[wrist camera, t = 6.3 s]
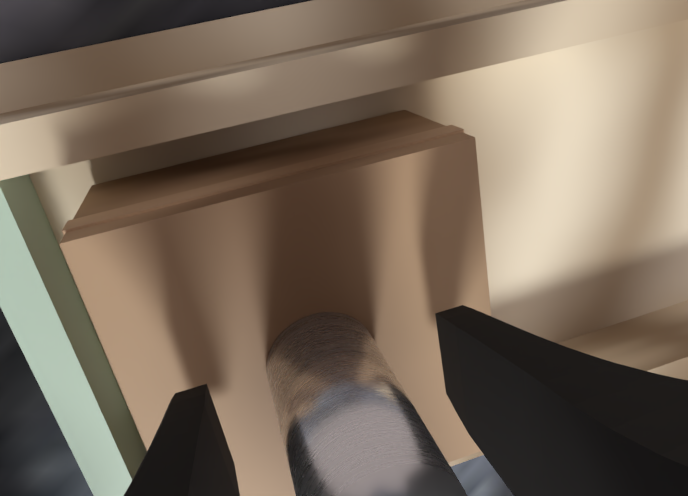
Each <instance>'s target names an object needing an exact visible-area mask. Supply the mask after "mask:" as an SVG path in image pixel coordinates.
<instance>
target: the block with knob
mask: <svg viewBox="0 0 688 496" xmlns="http://www.w3.org/2000/svg"><path fill="white" fill-rule="evenodd" d="M62 233H63V235H64V236H63V238H62V240H61V242H60V247H61V249H62V251H63V254H64V256H65V258H66V261H67V263H68V265H69V268H70V270H71V272H72V275H73V277H74V280H75V282H76V284H77V287H78V289H79V291H80V294H81V296H82V298H83V301H84V303H85V306H86V308H87V310H88V313H89V315H90V317H91V320H92V322H93V324H94V327H95V329H96V331H97V334H98V336H99V339H100V341H101V343H102V346H103V348H104V350H105V353H106V355H107V357H108V360H109V362H110V364H111V367H112V369H113V372H114V374H115V376H116V379H117V381H118V383H119V386H120V388H121V390H122V393H123V395H124V397H125V400H126V402H127V405H128V407H129V409H130V412H131V414H132V416H133V419H134V421H135V423H136V426H137V428H138V430H139V433H140V435H141V438H142V440H143V442H144V445H145V447H146V449H147V451H148V449H149V447H150V445H151V443H152V441H153V438H154V436H155V434H156V432H157V430H158V428H159V426H160V423H161V421H162V419H163V417H164V414H165V412H166V410H167V408H168V405H169V403H170V401H171V399H172V397H173V396H174V394H175V393H178V392H181V391H184V390H188V389H191V388H194V387H197V386H201V385H204V384H207V386H208V389H209V392H210V395H211V398H212V400H213V403H214V406H215V409H216V412H217V415H218V418H219V421H220V424H221V426H222V429H223V432H224V435H225V438H226V441H227V444H228V447H229V450H230V452H231V455H232V458H233V461H234V464H235V470H236V476H237V481H238V487H239V493H240V496H467V495H466V492H465V490H464V489H463V487H462V485H461V484H460V482H459V480H458V479H457V477H456V475H455V474H454V472H453V470H452V469H451V467H450V465H449V464H448V463H449V462H451V461H454V460H457V459H460V458H463V457H465V456H468V455H471V454H474V453H477V452H480V451H481V450H480V449H479V447H478V446H477V445H476V443H475V442H474V441H473V439H472V438H471V436H470V435H469V434H468V432H467V430H466V428H465V427H464V425H463V423H462V421H461V420H460V418H459V416H458V414H457V413H456V411H455V409H454V407H453V405H452V403H451V401H450V400H449V398H448V396H447V394H446V389H445V382H444V375H443V367H442V360H441V353H440V345H439V338H438V331H437V323H436V316H435V313H438V312H441V311H445V310H448V309H451V308H454V307H458V306H461V305H464V306H467V307H470V308H472V309H475V310H477V311H480V312H482V313H484V314H487V315H489V316H491V307H490V296H489V285H488V274H487V263H486V252H485V241H484V230H483V218H482V207H481V196H480V185H479V174H478V163H477V152H476V141H475V137H473V136H470V135H468V134H465V133H464V129H462V128H459V127H457V126H454V125H448V126H445V125H442V124H440V123H437V122H435V121H432V120H430V119H427V118H425V117H422V116H420V115H417V114H414V113H412V112H409V111H407V110H401V111H397V112H393V113H389V114H385V115H381V116H376V117H372V118H368V119H364V120H360V121H356V122H352V123H348V124H343V125H339V126H335V127H331V128H327V129H323V130H319V131H315V132H310V133H306V134H302V135H298V136H294V137H290V138H286V139H281V140H277V141H273V142H269V143H265V144H261V145H257V146H253V147H248V148H244V149H240V150H236V151H232V152H228V153H224V154H220V155H215V156H211V157H207V158H203V159H199V160H195V161H191V162H186V163H182V164H178V165H174V166H170V167H166V168H162V169H158V170H153V171H149V172H145V173H141V174H137V175H133V176H129V177H124V178H120V179H116V180H112V181H108V182H104V183H100V184H96V185H92V186H91V188H90V189H89V191H88V193H87V195H86V197H85V198H84V200H83V202H82V204H81V206H80V207H79V209H78V211H77V213H76V215H75V216H74V218H73V219H72V220H68V221H67V223H66V224H65V226H64V228H63V230H62Z"/></svg>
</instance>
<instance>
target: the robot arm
mask: <svg viewBox="0 0 688 496" xmlns="http://www.w3.org/2000/svg"><path fill="white" fill-rule="evenodd" d="M435 316H436V323H437V331H438V338H439V345H440V353H441V360H442V367H443V375H444V382H445V389H446V394H447V396H448V398H449V400H450V401H451V403H452V405H453V407H454V409H455V411H456V413H457V414H458V416H459V418H460V420H461V421H462V423H463V425H464V427H465V428H466V430H467V432H468V434H469V435H470V436H471V438H472V439H473V441H474V442H475V443H476V445H477V446H478V447H479V449H480V450H481V451H482V453H483V454H484V456H485V457H486V458H487V460H488V461H489V462H490V464H491V465H492V466H493V468H494V469H495V470H496V472H497V473H498V474H499V476H500V477H501V478H502V480H503V481H504V482H505V484H506V485H507V486H508V488H509V489H510V490H511V492H512V493H513V494H514V496H688V380H683V379H678V378H674V377H669V376H665V375H660V374H656V373H652V372H648V371H644V370H640V369H636V368H633V367H629V366H625V365H621V364H617V363H614V362H611V361H607V360H604V359H601V358H598V357H595V356H592V355H589V354H586V353H583V352H580V351H577V350H574V349H571V348H568V347H566V346H563V345H560V344H557V343H555V342H552V341H549V340H547V339H544V338H542V337H539V336H537V335H534V334H532V333H529V332H527V331H524V330H522V329H520V328H517V327H515V326H513V325H510V324H508V323H506V322H503V321H501V320H498V319H496V318H494V317H491V316H489V315H487V314H484V313H482V312H480V311H477V310H475V309H472V308H470V307H467V306H464V305H461V306H458V307H454V308H451V309H448V310H445V311H441V312H438V313H435ZM124 496H240V493H239V487H238V481H237V476H236V470H235V464H234V461H233V458H232V455H231V452H230V450H229V447H228V444H227V441H226V438H225V435H224V432H223V429H222V426H221V424H220V421H219V418H218V415H217V412H216V409H215V406H214V403H213V400H212V398H211V395H210V392H209V389H208V386H207V384H204V385H201V386H197V387H194V388H191V389H188V390H184V391H181V392H178V393H175V394H174V396H173V397H172V399H171V401H170V403H169V405H168V408H167V410H166V412H165V414H164V417H163V419H162V421H161V423H160V426H159V428H158V430H157V432H156V434H155V436H154V438H153V441H152V443H151V445H150V447H149V449H148V451H147V453H146V455H145V457H144V459H143V461H142V463H141V464H140V466H139V468H138V470H137V472H136V474H135V476H134V478H133V480H132V482H131V484H130V485H129V487H128V489H127V491H126V492H125V494H124Z"/></svg>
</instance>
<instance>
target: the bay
mask: <svg viewBox="0 0 688 496" xmlns="http://www.w3.org/2000/svg"><path fill="white" fill-rule="evenodd" d="M401 110H407V111H409V112H412V113H414V114H417V115H420V116H422V117H425V118H427V119H430V120H432V121H435V122H437V123H440V124H442V125H445V126H448V125H454V126H457V127H459V128H462V129H464V133H465V134H468V135H470V136H473V137H475V141H476V152H477V163H478V174H479V185H480V196H481V207H482V218H483V230H484V241H485V252H486V263H487V274H488V285H489V296H490V307H491V317H494V318H496V319H498V320H501V321H503V322H506V323H508V324H510V325H513V326H515V327H517V328H520V329H522V330H524V331H527V332H529V333H532V334H534V335H537V336H539V337H542V338H544V339H547V340H549V341H552V342H555V343H557V344H560V345H563V346H566V347H568V348H571V349H574V350H577V351H580V352H583V353H586V354H589V355H592V356H595V357H598V358H601V359H604V360H607V361H611V362H614V363H617V364H621V365H625V366H629V367H633V368H636V369H640V370H644V371H648V372H652V373H656V374H660V375H665V376H669V377H674V378H678V379H683V380H688V0H311V1H307V2H302V3H297V4H292V5H287V6H282V7H277V8H272V9H267V10H262V11H257V12H252V13H247V14H242V15H238V16H233V17H228V18H223V19H218V20H213V21H208V22H203V23H198V24H193V25H188V26H183V27H178V28H173V29H168V30H164V31H159V32H154V33H149V34H144V35H139V36H134V37H129V38H124V39H119V40H114V41H109V42H104V43H99V44H94V45H90V46H85V47H80V48H75V49H70V50H65V51H60V52H55V53H50V54H45V55H40V56H35V57H30V58H25V59H21V60H16V61H11V62H6V63H1V64H0V307H1V309H2V311H3V313H4V315H5V317H6V319H7V321H8V323H9V325H10V328H11V330H12V332H13V334H14V336H15V338H16V340H17V342H18V344H19V346H20V348H21V350H22V352H23V354H24V356H25V358H26V360H27V362H28V364H29V366H30V368H31V370H32V372H33V374H34V376H35V378H36V380H37V382H38V384H39V386H40V388H41V390H42V392H43V394H44V396H45V398H46V400H47V402H48V404H49V406H50V408H51V410H52V412H53V414H54V416H55V418H56V420H57V422H58V425H59V427H60V429H61V431H62V433H63V435H64V437H65V439H66V441H67V443H68V445H69V447H70V449H71V451H72V453H73V455H74V457H75V459H76V461H77V463H78V465H79V467H80V469H81V471H82V473H83V475H84V477H85V479H86V481H87V483H88V485H89V487H90V489H91V491H92V493H93V495H94V496H124V494H125V492H126V491H127V489H128V487H129V485H130V484H131V482H132V480H133V478H134V476H135V474H136V472H137V470H138V468H139V466H140V464H141V463H142V461H143V459H144V457H145V455H146V453H147V449H146V447H145V445H144V442H143V440H142V438H141V435H140V433H139V430H138V428H137V426H136V423H135V421H134V419H133V416H132V414H131V412H130V409H129V407H128V405H127V402H126V400H125V397H124V395H123V393H122V390H121V388H120V386H119V383H118V381H117V379H116V376H115V374H114V372H113V369H112V367H111V364H110V362H109V360H108V357H107V355H106V353H105V350H104V348H103V346H102V343H101V341H100V339H99V336H98V334H97V331H96V329H95V327H94V324H93V322H92V320H91V317H90V315H89V313H88V310H87V308H86V306H85V303H84V301H83V298H82V296H81V294H80V291H79V289H78V287H77V284H76V282H75V280H74V277H73V275H72V272H71V270H70V268H69V265H68V263H67V261H66V258H65V256H64V254H63V251H62V249H61V247H60V242H61V240H62V238H63V236H64V235H63V233H62V230H63V228H64V226H65V224H66V223H67V221H68V220H72V219H73V218H74V216H75V215H76V213H77V211H78V209H79V207H80V206H81V204H82V202H83V200H84V198H85V197H86V195H87V193H88V191H89V189H90V188H91V186H92V185H96V184H100V183H104V182H108V181H112V180H116V179H120V178H124V177H129V176H133V175H137V174H141V173H145V172H149V171H153V170H158V169H162V168H166V167H170V166H174V165H178V164H182V163H186V162H191V161H195V160H199V159H203V158H207V157H211V156H215V155H220V154H224V153H228V152H232V151H236V150H240V149H244V148H248V147H253V146H257V145H261V144H265V143H269V142H273V141H277V140H281V139H286V138H290V137H294V136H298V135H302V134H306V133H310V132H315V131H319V130H323V129H327V128H331V127H335V126H339V125H343V124H348V123H352V122H356V121H360V120H364V119H368V118H372V117H376V116H381V115H385V114H389V113H393V112H397V111H401ZM481 455H484V454H483V453H482V451H480V452H477V453H474V454H471V455H468V456H465V457H463V458H460V459H457V460H454V461H451V462H449V463H448V464H449V465H450V467H451V466H453V465H456V464H459V463H462V462H465V461H467V460H470V459H473V458H476V457H479V456H481Z"/></svg>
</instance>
